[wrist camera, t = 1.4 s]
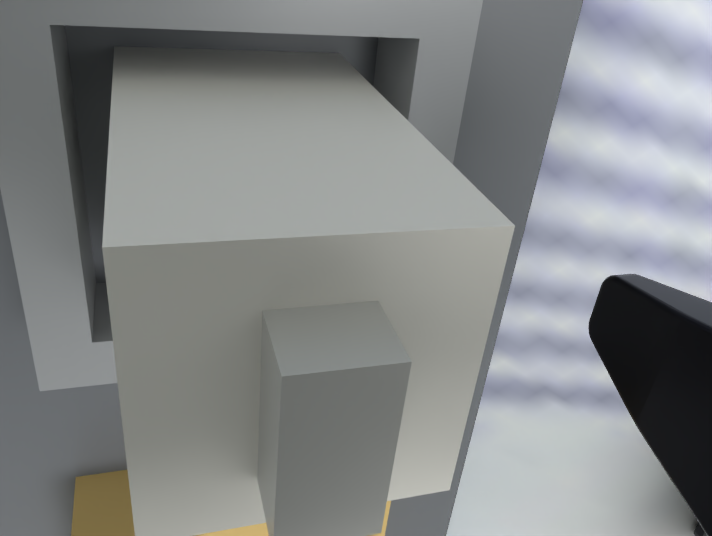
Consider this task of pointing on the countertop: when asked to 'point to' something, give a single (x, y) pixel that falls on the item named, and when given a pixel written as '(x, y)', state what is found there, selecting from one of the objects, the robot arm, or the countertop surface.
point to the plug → (287, 293)
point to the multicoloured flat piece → (88, 186)
